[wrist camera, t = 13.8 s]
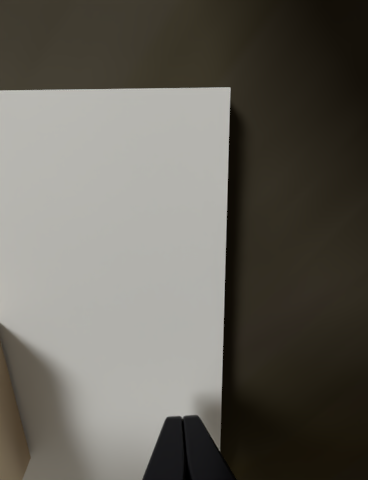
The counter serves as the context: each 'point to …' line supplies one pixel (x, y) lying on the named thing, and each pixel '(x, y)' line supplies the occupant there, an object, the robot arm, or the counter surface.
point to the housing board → (112, 270)
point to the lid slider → (11, 430)
